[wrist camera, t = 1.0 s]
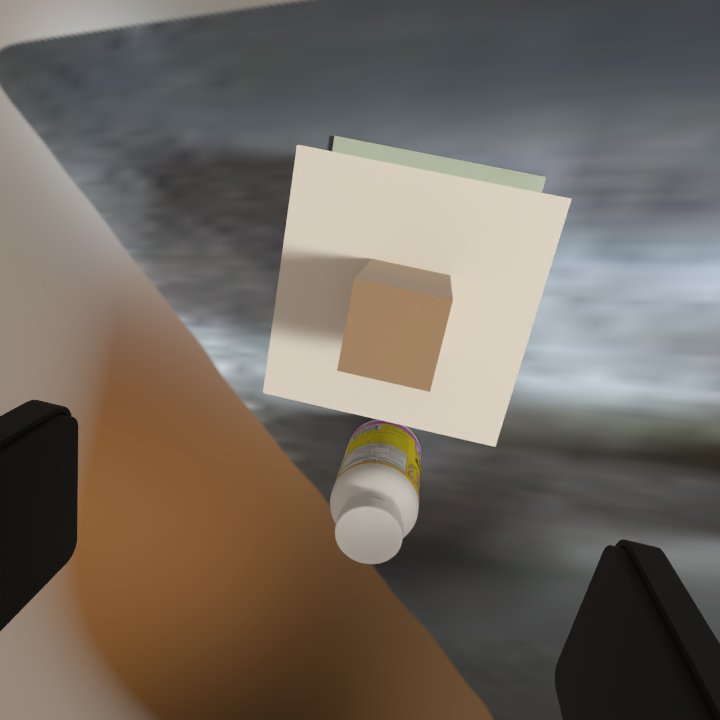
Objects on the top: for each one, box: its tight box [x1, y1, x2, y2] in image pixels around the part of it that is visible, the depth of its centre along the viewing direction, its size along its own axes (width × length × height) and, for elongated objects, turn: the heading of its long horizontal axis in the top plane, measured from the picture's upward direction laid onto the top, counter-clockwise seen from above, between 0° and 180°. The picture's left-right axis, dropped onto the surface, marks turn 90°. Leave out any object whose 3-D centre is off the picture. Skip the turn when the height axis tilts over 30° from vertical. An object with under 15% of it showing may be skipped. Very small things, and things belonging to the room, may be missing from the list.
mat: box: [332, 136, 546, 193], centre depth 43 cm, size 16×16×1 cm
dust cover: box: [263, 145, 571, 447], centre depth 32 cm, size 13×13×22 cm
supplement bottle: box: [330, 419, 421, 564], centre depth 43 cm, size 7×7×13 cm
